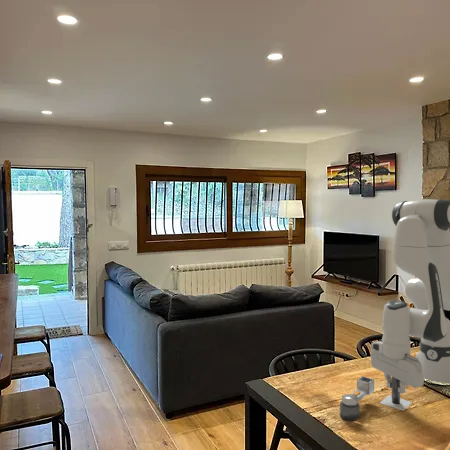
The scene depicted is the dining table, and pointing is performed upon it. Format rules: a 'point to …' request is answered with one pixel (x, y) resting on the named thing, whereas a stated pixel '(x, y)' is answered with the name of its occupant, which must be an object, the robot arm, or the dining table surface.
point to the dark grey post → (395, 391)
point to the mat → (401, 406)
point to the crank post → (349, 412)
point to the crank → (359, 392)
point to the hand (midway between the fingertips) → (395, 389)
